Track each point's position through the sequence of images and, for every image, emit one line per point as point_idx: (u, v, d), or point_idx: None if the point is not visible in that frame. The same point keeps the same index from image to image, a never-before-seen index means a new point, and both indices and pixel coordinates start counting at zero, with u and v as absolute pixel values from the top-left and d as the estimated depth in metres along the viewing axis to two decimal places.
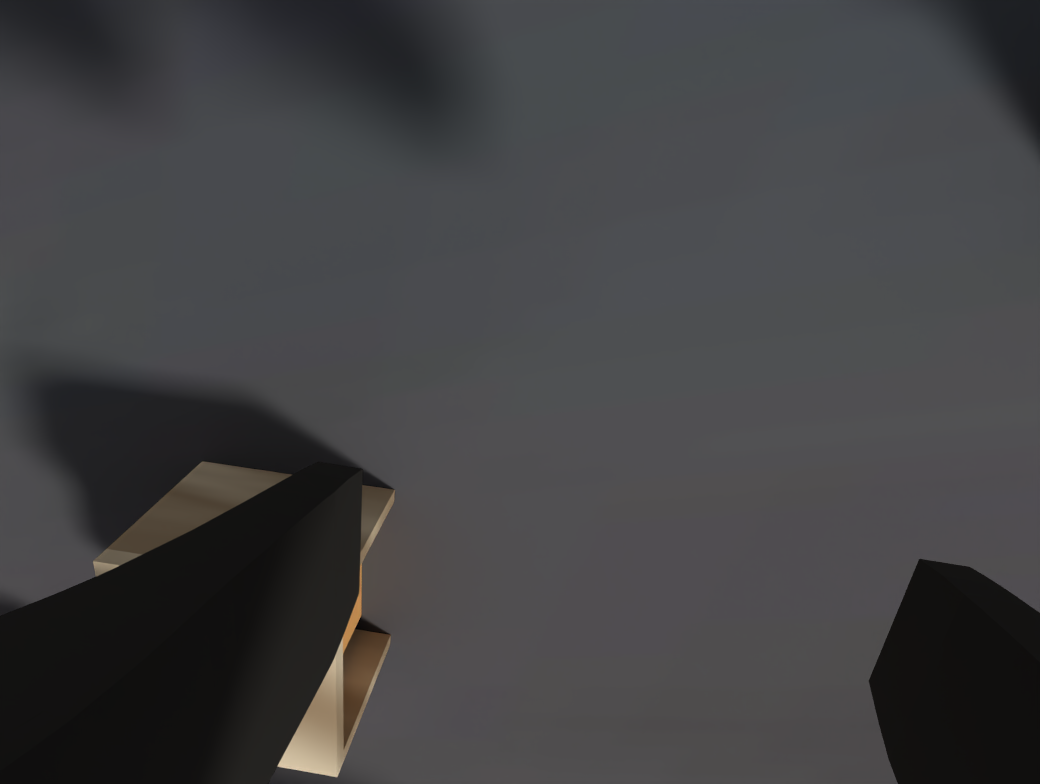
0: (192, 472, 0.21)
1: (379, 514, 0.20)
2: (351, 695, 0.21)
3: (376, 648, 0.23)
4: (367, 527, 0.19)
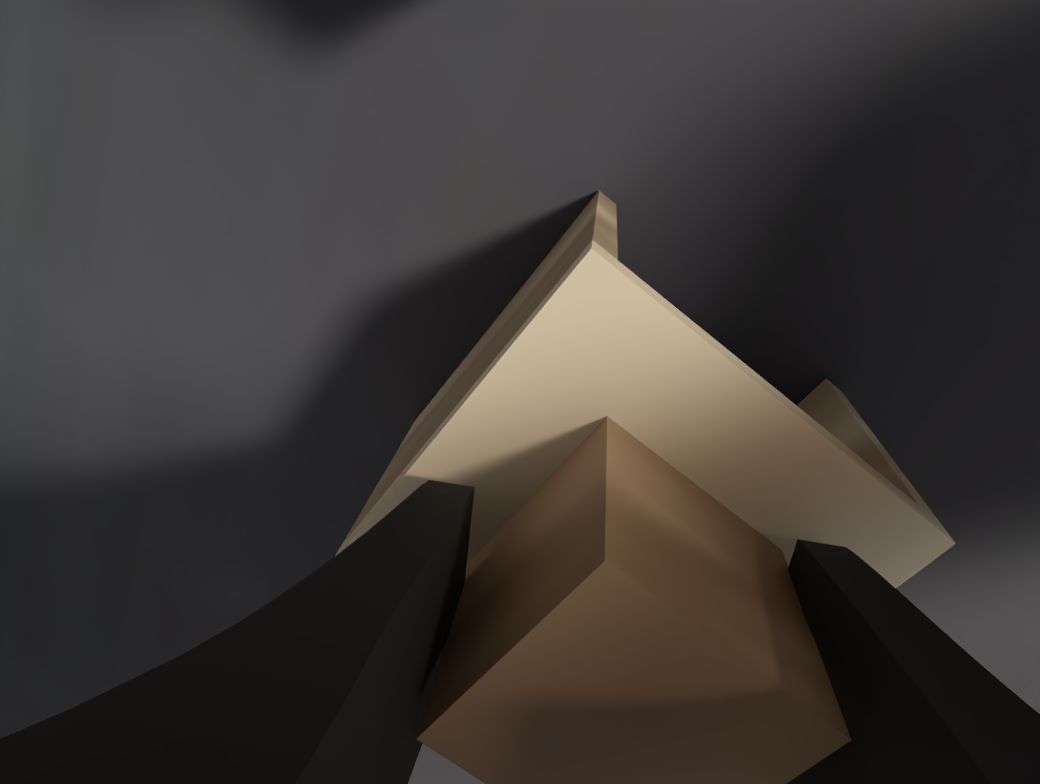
0: None
1: None
2: None
3: None
4: None
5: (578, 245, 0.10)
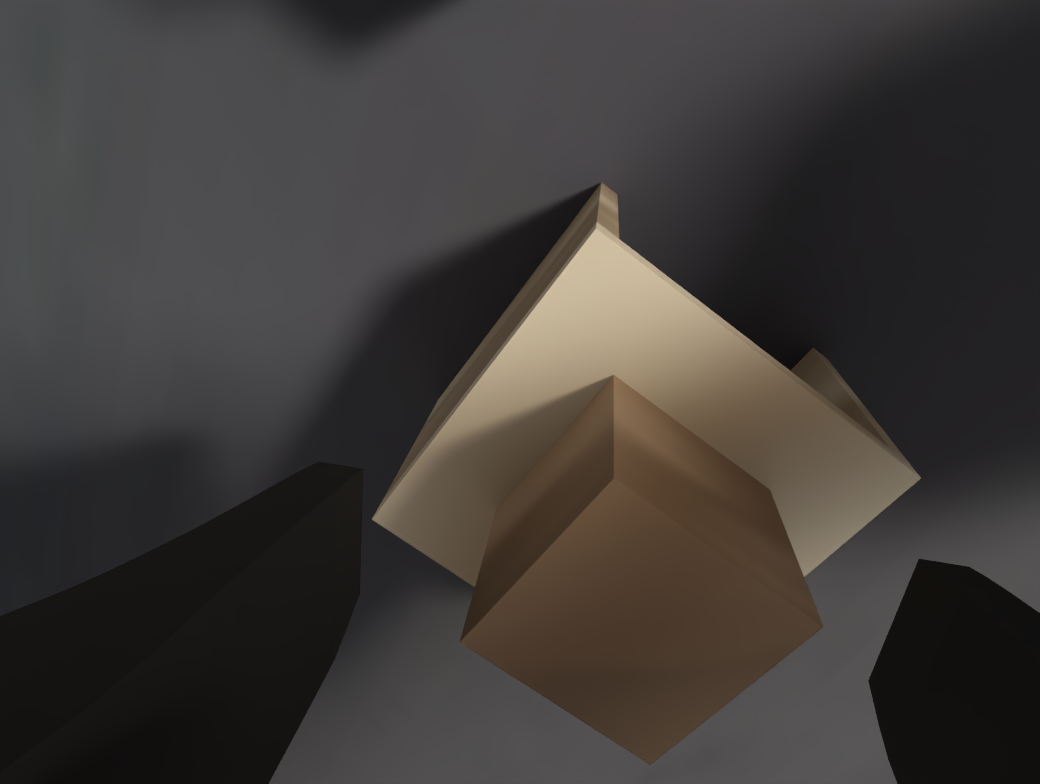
0: None
1: None
2: None
3: None
4: None
5: (584, 228, 0.11)
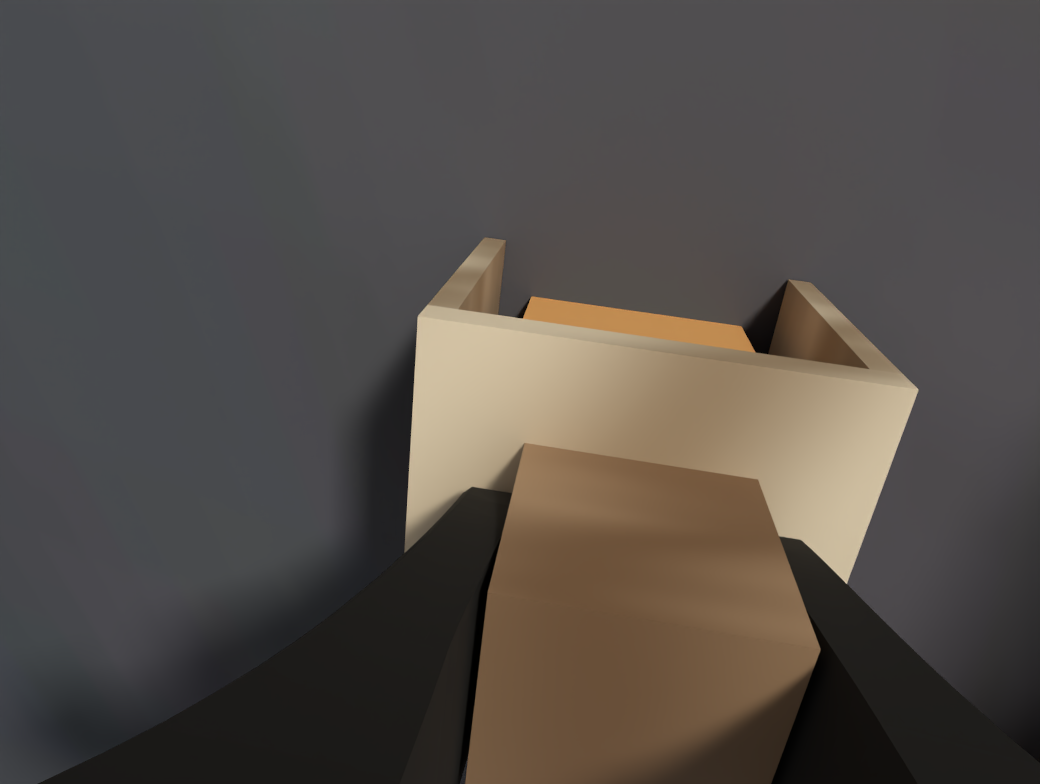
0: None
1: None
2: (821, 350, 0.11)
3: (793, 304, 0.12)
4: None
5: None
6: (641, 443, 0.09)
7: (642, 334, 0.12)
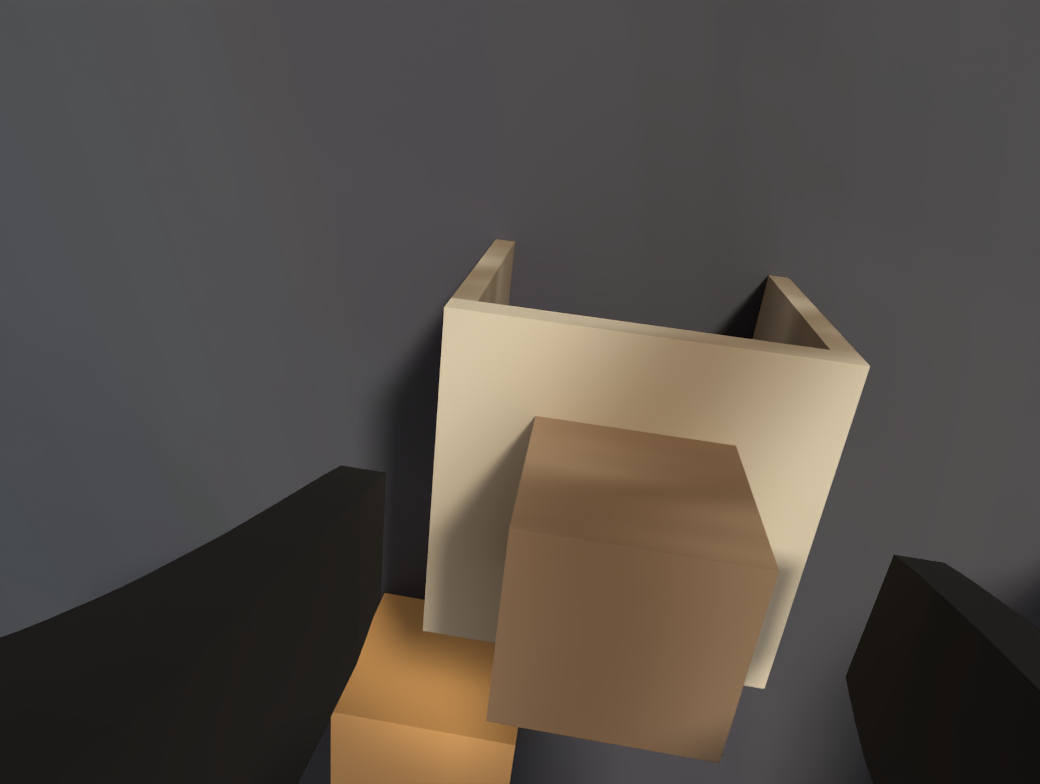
0: None
1: None
2: (794, 336, 0.12)
3: (772, 296, 0.14)
4: None
5: None
6: (635, 414, 0.11)
7: (451, 642, 0.18)
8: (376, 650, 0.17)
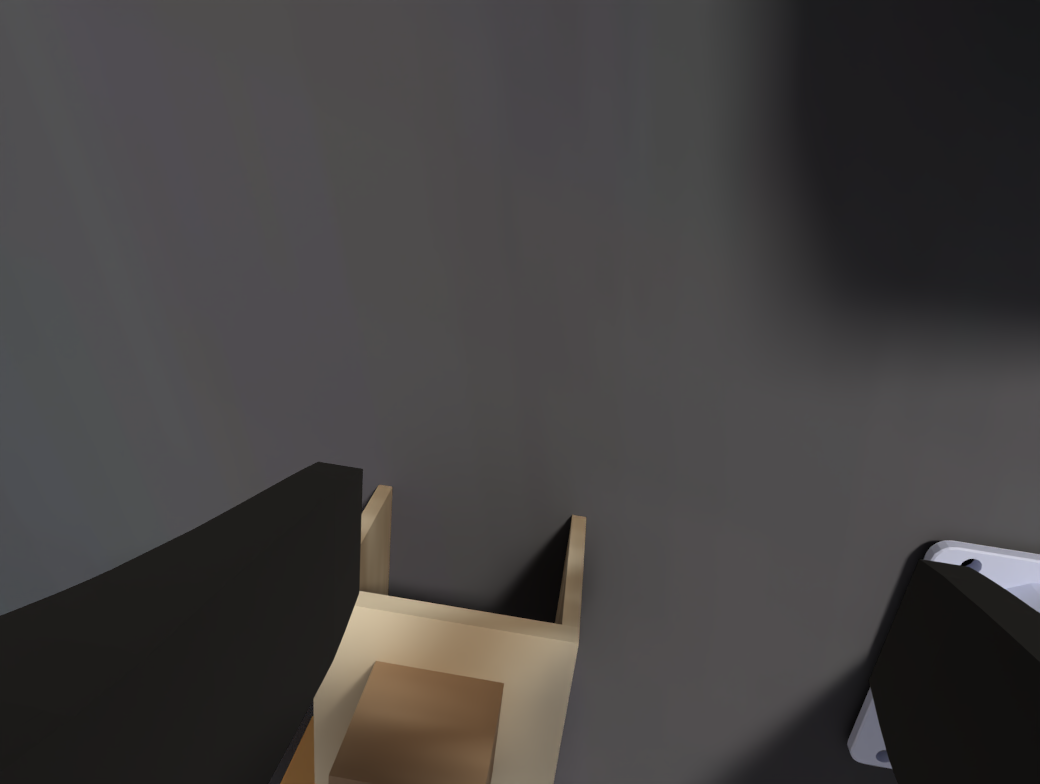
0: None
1: (363, 511, 0.19)
2: (565, 586, 0.18)
3: (570, 536, 0.20)
4: None
5: None
6: (439, 663, 0.16)
7: None
8: (300, 769, 0.23)
